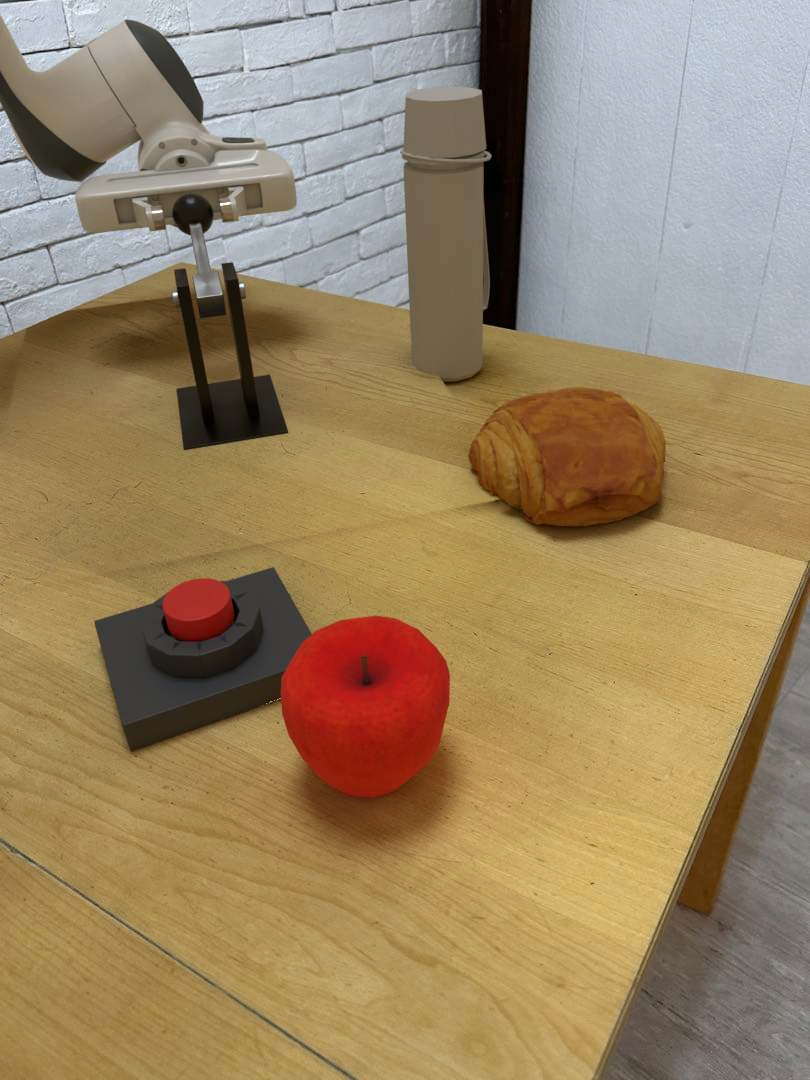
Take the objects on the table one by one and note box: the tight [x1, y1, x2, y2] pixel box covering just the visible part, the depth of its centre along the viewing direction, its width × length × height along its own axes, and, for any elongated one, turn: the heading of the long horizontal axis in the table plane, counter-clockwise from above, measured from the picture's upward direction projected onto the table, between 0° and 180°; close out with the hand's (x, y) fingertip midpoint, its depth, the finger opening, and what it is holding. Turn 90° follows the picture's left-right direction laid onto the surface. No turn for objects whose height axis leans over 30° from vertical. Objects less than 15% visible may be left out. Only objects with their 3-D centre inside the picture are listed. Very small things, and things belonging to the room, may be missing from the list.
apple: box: [280, 615, 451, 799], centre depth 47 cm, size 9×9×8 cm
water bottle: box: [399, 85, 492, 383], centre depth 83 cm, size 9×8×25 cm
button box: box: [93, 566, 313, 753], centre depth 56 cm, size 12×10×4 cm
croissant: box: [467, 386, 667, 527], centre depth 70 cm, size 14×16×8 cm
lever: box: [172, 193, 227, 319], centre depth 79 cm, size 13×4×4 cm, turn 15°
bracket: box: [171, 261, 289, 451], centre depth 79 cm, size 12×9×14 cm
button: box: [162, 577, 234, 642], centre depth 54 cm, size 4×4×2 cm
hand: (193, 217), depth 80 cm, fingers open, 5 cm apart
